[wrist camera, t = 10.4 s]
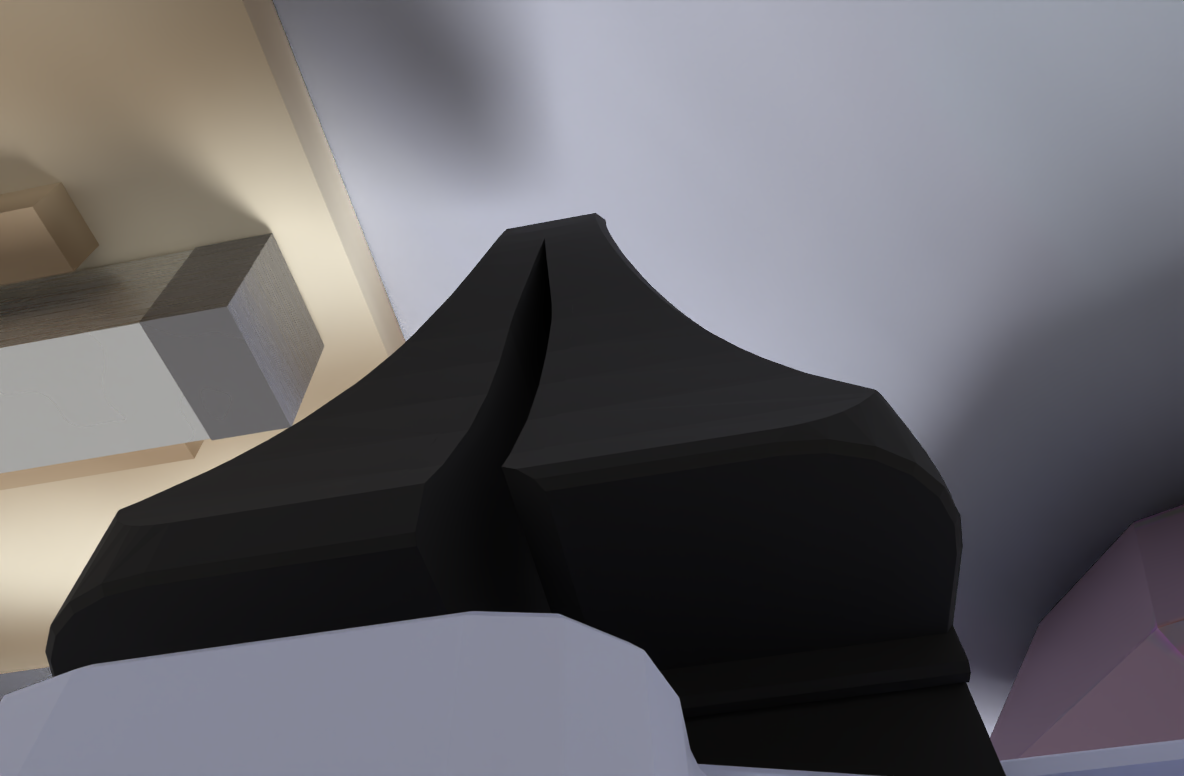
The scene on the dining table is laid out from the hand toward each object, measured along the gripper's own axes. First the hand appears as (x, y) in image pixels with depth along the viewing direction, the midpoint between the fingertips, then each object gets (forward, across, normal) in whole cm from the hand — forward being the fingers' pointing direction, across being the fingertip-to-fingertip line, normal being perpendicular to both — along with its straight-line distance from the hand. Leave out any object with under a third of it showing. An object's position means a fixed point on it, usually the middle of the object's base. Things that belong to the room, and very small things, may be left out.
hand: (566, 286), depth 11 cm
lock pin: (+1, +10, 0) cm, 10 cm away
